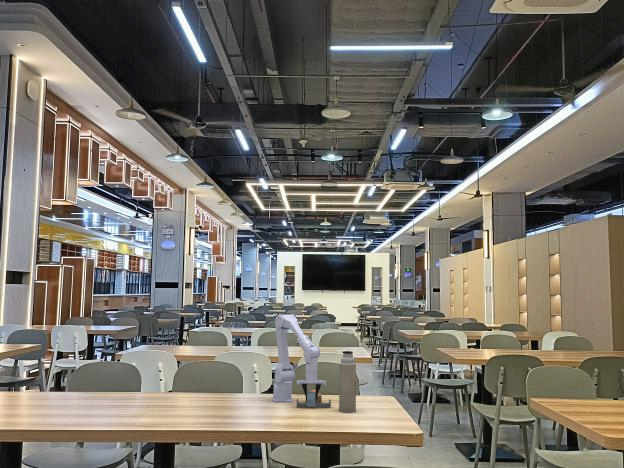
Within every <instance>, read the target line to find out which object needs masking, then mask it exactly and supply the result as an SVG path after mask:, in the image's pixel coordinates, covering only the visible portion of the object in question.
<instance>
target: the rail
mask: <svg viewBox="0 0 624 468" xmlns="http://www.w3.org/2000/svg"><path fill="white" fill-rule="evenodd" d="M296 408H308V409H309V408H310V409H311V408H312V409H313V408H315V409H321V408H322V409H331V408H332V400H331V399H330V398H329V399H328V402H326V401H325V402H323V401H322V402H315V406H307V402H306V401H300V400H299V398H296Z"/></svg>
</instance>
